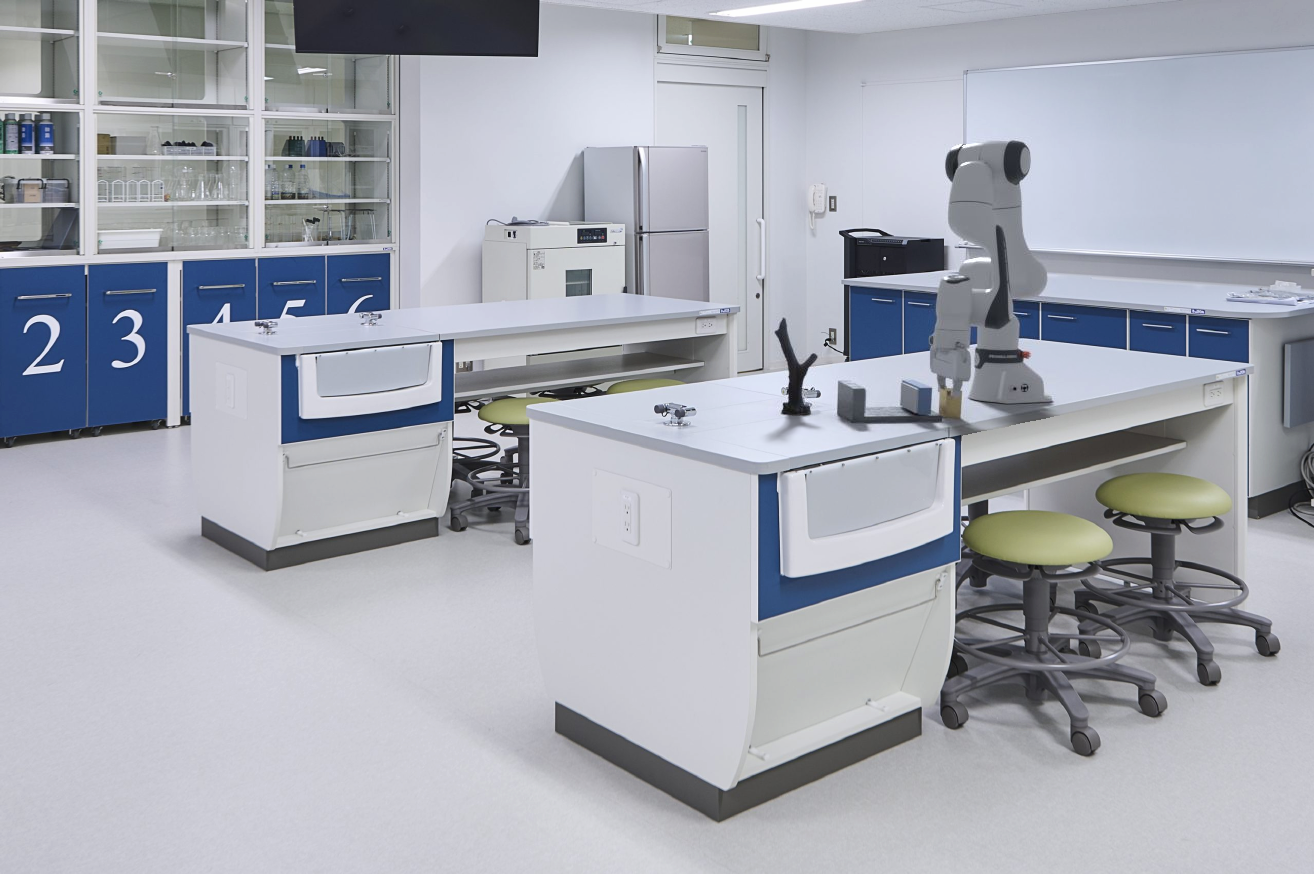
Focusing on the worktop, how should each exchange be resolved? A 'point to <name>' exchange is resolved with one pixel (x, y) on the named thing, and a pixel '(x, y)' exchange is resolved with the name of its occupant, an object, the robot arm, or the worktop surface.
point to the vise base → (873, 408)
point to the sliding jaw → (916, 397)
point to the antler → (794, 374)
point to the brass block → (949, 404)
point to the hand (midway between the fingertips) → (948, 395)
